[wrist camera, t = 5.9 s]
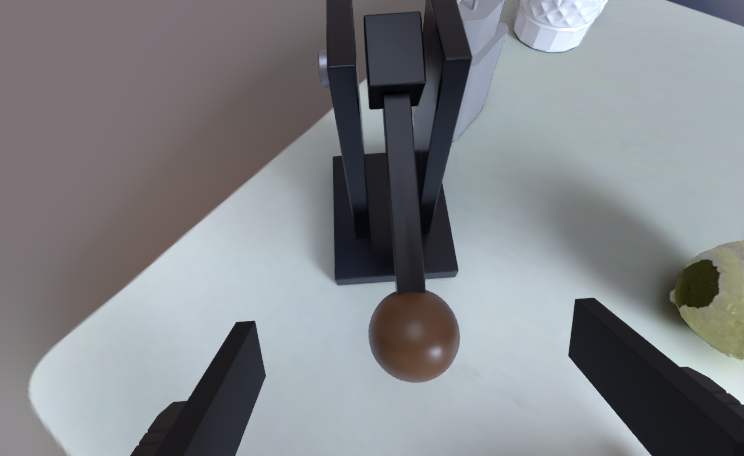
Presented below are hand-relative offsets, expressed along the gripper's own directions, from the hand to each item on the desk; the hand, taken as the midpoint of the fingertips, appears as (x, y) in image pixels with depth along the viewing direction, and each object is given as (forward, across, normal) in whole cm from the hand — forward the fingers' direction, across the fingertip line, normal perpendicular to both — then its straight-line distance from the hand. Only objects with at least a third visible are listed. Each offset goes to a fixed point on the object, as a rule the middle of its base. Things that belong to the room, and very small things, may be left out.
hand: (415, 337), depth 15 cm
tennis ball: (+7, +19, -5) cm, 21 cm away
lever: (+3, 0, +5) cm, 6 cm away
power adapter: (+19, +6, +8) cm, 22 cm away
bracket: (+13, 0, +2) cm, 13 cm away
